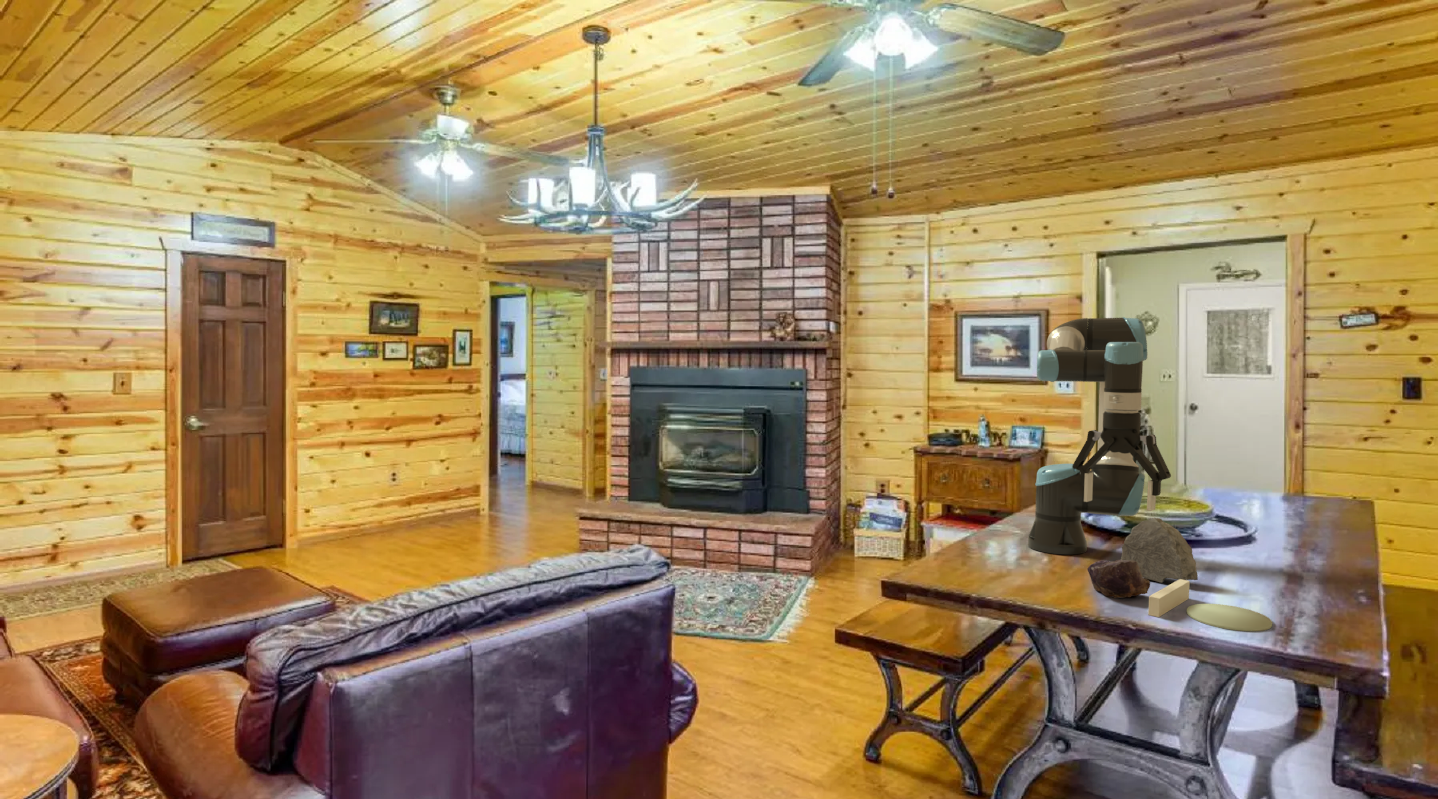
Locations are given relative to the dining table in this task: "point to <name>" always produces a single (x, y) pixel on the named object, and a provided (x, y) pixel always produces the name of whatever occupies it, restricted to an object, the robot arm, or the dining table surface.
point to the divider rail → (1168, 598)
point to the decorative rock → (1160, 551)
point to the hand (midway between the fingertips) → (1118, 505)
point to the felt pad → (1229, 617)
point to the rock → (1118, 578)
